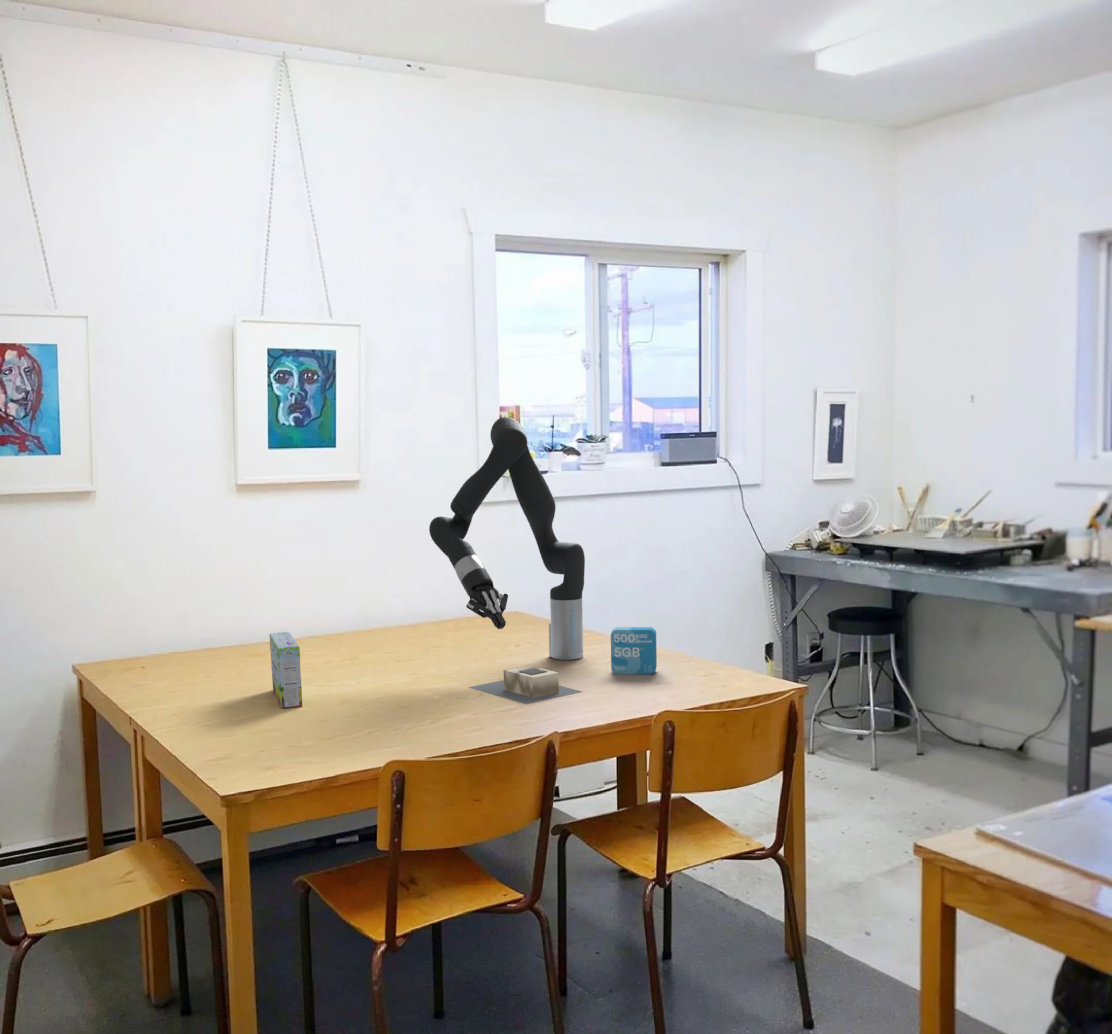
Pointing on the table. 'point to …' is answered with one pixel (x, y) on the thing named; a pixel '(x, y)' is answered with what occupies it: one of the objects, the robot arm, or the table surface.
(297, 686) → the snack box
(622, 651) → the data package
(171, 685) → the table surface
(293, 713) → the table surface
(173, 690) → the table surface
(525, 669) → the ash block
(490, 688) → the mat
